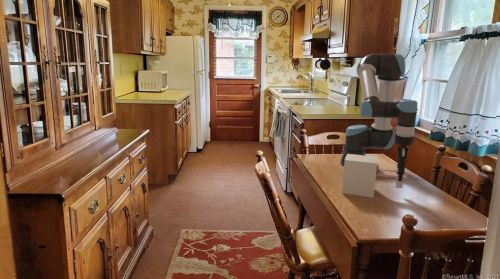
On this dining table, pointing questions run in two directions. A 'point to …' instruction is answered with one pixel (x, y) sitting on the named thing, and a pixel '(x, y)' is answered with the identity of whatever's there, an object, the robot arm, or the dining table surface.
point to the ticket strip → (389, 174)
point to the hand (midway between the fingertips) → (398, 185)
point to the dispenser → (359, 175)
